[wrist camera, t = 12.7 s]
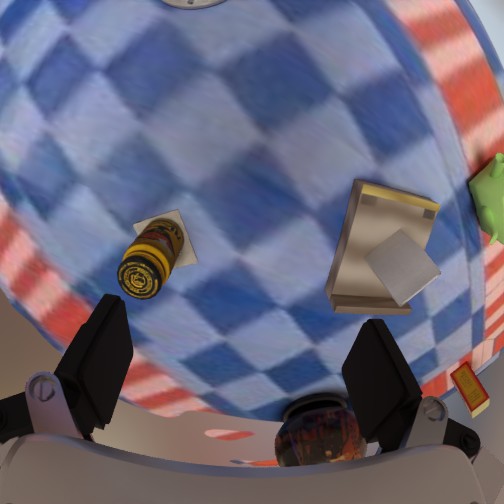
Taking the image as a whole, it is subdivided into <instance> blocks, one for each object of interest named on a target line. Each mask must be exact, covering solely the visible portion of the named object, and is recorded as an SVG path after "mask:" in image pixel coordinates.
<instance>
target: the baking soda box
mask: <svg viewBox="0 0 504 504" xmlns="http://www.w3.org/2000/svg"><path fill="white" fill-rule="evenodd" d="M450 376H451V379H452V381H453V384H454V386H455V388H456V389H457V391H458V393H459V395H460V396H461V398H462V400H463V402H464V403H465V406H466V407H467V409H468V411H469V413H470V415H471V417H472V419H473V418H474V417H475V416H477V415H478V414H479V413H480V412H482V411H483V410H484V409H485V408H487V407H488V406H489V396H488V394H487V392H486V391H485V389H484V388H483V386H482V384H481V383H480V381H479V379H478V378H477V376H476V375H475V373H474V372H473V370H472V369H471V367H470V366H469V364H468V363H467V361H466V362H465V363H464V364H462V365H461V366H460V367H459V368H457V369H456V370H455V371H454V372H452V373H451V374H450Z"/></svg>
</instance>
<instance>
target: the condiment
mask: <svg viewBox="0 0 504 504" xmlns="http://www.w3.org/2000/svg"><path fill="white" fill-rule="evenodd" d="M133 226H134V228H135V230H136V232H137V235H138V237H137V238H136V239H135V241H134V242H133V243H132V244H131V245H130V246H129V248H128V249H127V251H126V252H125V254H124V257H123V261H122V263H121V264H120V265H119V268H118V271H117V277H118V283H119V285H120V286H121V288H122V289H123V291H124V292H125V293H127V294H128V295H130V296H132V297H134V298H137V299H141V300H144V299H150V298H152V297H154V296H156V294H157V293H158V292H159V291H160V289H161V287H162V285H163V284H165V283H166V281H167V280H168V278H169V276H170V274H171V271H172V269H174V268H178V267H182V266H186V265H189V264H194V263H198V261H197V258H196V256H195V253H194V251H193V248H192V246H191V243H190V241H189V238H188V235H187V232H186V230H185V227H184V224H183V222H182V219H181V216H180V214H179V211H178V210H175V211H171V212H168V213H165V214H162V215H159V216H156V217H153V218H150V219H147V220H144V221H142V222H139V223H136V224H133ZM180 251H181V252H180ZM180 253H181V254H180ZM179 254H180V255H179Z"/></svg>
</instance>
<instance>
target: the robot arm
mask: <svg viewBox="0 0 504 504" xmlns="http://www.w3.org/2000/svg"><path fill="white" fill-rule="evenodd" d="M162 1H163V2H164V3H166V4H168V5H170V6H173V7H176V8H181V9H200V8H205V7H210V6H213V5H216V4H219V3H221V2H223V1H225V0H162ZM192 3H193V4H192ZM190 4H192V5H190ZM132 357H133V345H132V340H131V335H130V330H129V325H128V319H127V313H126V307H125V302H124V301H123V300H121V298H120V296H117V295H111V294H105V295H104V296H103V297H102V299H101V300H100V302H99V303H98V305H97V306H96V308H95V309H94V311H93V313H92V314H91V316H90V317H89V319H88V320H87V322H86V323H84V324H83V325H82V326H81V327H80V329H79V330H78V332H77V334H76V335H75V337H74V338H73V340H72V342H71V344H70V345H69V347H68V349H67V350H66V352H65V354H64V356H63V357H62V359H61V361H60V363H59V364H58V367H57V368H56V370H55V372H54V374H51V373H50V372H38V373H36V374H34V375H32V376H31V377H30V378H29V379H28V381H27V382H26V386H25V392H22V393H19V394H16V395H13V396H10V397H8V398H5V399H2V400H0V504H493V503H494V501H495V500H496V498H497V496H498V494H499V492H500V490H501V488H502V486H503V484H504V465H503V464H502V463H501V462H500V461H499V460H498V459H497V458H496V457H495V456H494V455H492V454H491V453H490V452H489V451H488V450H487V449H486V448H485V447H484V446H482V447H481V448H480V439H479V437H478V435H477V433H476V432H475V431H473V430H472V429H470V428H468V427H466V426H464V425H462V424H460V423H458V422H456V421H454V420H452V419H450V418H448V409H447V407H446V405H445V403H444V402H443V401H442V400H441V399H439V398H437V397H434V396H427V397H425V398H423V399H422V397H421V395H422V394H423V393H422V391H421V389H420V387H419V385H418V383H417V381H416V379H415V377H414V375H413V373H412V371H411V369H410V367H409V365H408V364H407V362H406V360H405V358H404V356H403V354H402V352H401V351H400V349H399V347H398V345H397V343H396V342H395V340H394V338H393V336H392V334H391V333H390V331H389V329H388V328H387V326H386V324H385V322H384V321H383V320H382V319H368V320H367V322H364V323H363V325H362V327H361V329H360V331H359V333H358V336H357V338H356V340H355V342H354V344H353V346H352V348H351V350H350V352H349V354H348V356H347V358H346V360H345V362H344V364H343V366H342V375H343V378H344V381H345V385H346V388H347V391H348V394H349V397H350V400H351V404H352V407H353V410H354V414H355V417H356V420H357V424H358V427H359V430H360V434H361V436H362V437H363V438H365V441H366V444H368V443H373V442H379V445H380V446H379V448H378V450H377V452H376V454H375V455H374V456H369V457H363V458H358V459H353V460H347V461H340V462H334V463H326V464H317V465H307V466H293V467H269V468H268V467H267V468H250V467H225V466H212V465H202V464H192V463H185V462H178V461H172V460H165V459H161V458H155V457H150V456H146V455H140V454H136V453H132V452H128V451H124V450H119V449H116V448H112V447H109V446H105V445H102V444H98V443H96V442H95V441H94V438H93V436H92V434H91V433H93V430H94V427H96V428H99V429H102V430H104V427H105V424H109V423H110V421H111V418H112V415H113V412H114V409H115V406H116V403H117V400H118V397H119V394H120V391H121V388H122V385H123V382H124V379H125V377H126V374H127V371H128V368H129V366H130V363H131V360H132Z"/></svg>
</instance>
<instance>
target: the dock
mask: <svg viewBox="0 0 504 504" xmlns="http://www.w3.org/2000/svg"><path fill="white" fill-rule="evenodd" d="M439 208H440V204H438V203H436V202H435V201H433V200H431V199H429V198H426V197H423V196H419V195H416V194H412V193H409V192H405V191H402V190H398V189H394V188H390V187H386V186H383V185H379V184H375V183H370V182H366V181H362V180H358V179H354V183H353V187H352V192H351V196H350V200H349V204H348V208H347V212H346V216H345V220H344V224H343V228H342V232H341V235H340V239H339V243H338V246H337V250H336V253H335V257H334V260H333V264H332V267H331V270H330V274H329V277H328V280H327V283H326V287H325V292H326V294H327V297H328V299H329V301H330V304H331V306H332V308H333V311H334V313H352V314H385V315H409V314H410V313H411V310H412V308H411V307H410V305H409V304H408V303H407V302H406V303H404V304H403V305H402V306H401V307H399V305H398V304H397V303H396V301H395V300H394V299H393V298H392V297H391V295H390V294H389V293H388V291H387V290H386V288H385V287H384V286H383V284H382V283H381V282H380V280H379V279H378V278H377V276H376V275H375V274H374V272H373V270H372V269H371V267H370V266H369V264H368V263H367V261H366V260H365V258H364V257H365V256H366V255H367V254H369V253H370V252H371V251H373V250H374V249H375V248H376V247H378V246H379V245H380V244H382V243H383V242H384V241H385V240H387V239H388V238H389V237H390V236H392V235H393V234H394V233H395V232H397V231H398V230H399V229H400V230H401V231H402V232H404V233H405V234H406V235H407V236H408V237H410V238H411V239H412V240H413V241H414V242H416V243H417V244H418V245H419V246H420V247H421V248H422V249H423V250H425V247H426V244H427V242H428V239H429V236H430V233H431V230H432V227H433V224H434V221H435V217H436V214H437V212H439Z"/></svg>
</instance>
